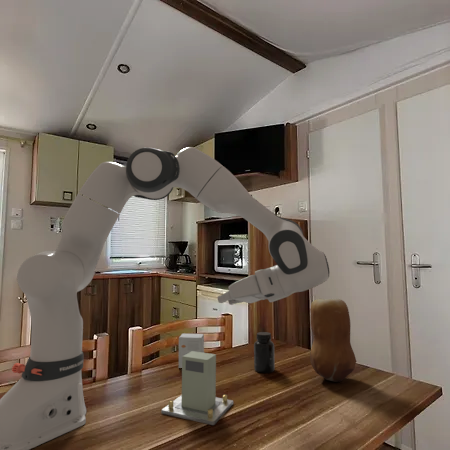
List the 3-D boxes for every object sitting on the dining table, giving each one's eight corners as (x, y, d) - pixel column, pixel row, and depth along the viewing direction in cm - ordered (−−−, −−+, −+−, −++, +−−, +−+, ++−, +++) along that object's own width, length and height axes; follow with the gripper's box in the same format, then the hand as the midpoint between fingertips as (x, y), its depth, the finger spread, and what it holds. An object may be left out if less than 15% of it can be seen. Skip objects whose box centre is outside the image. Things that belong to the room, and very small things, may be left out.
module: (206, 411, 80) (207, 360, 81) (181, 406, 82) (182, 356, 83) (215, 403, 84) (216, 354, 85) (191, 398, 87) (192, 351, 88)
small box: (204, 364, 117) (204, 333, 118) (201, 369, 111) (201, 337, 112) (181, 363, 118) (182, 333, 119) (178, 368, 112) (178, 336, 113)
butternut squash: (322, 369, 113) (320, 294, 115) (362, 379, 104) (360, 298, 106) (302, 380, 102) (301, 298, 104) (345, 393, 93) (343, 302, 96)
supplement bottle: (269, 365, 116) (268, 330, 117) (278, 372, 109) (278, 335, 111) (250, 367, 114) (250, 331, 115) (259, 374, 107) (259, 336, 108)
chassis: (213, 425, 75) (213, 414, 75) (161, 413, 81) (161, 403, 81) (233, 403, 86) (233, 394, 86) (186, 394, 92) (186, 385, 92)
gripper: (273, 278, 101) (231, 293, 103) (259, 268, 82) (208, 286, 85) (280, 298, 99) (237, 313, 101) (267, 292, 80) (215, 311, 82)
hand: (224, 301), depth 93 cm, fingers open, 8 cm apart
